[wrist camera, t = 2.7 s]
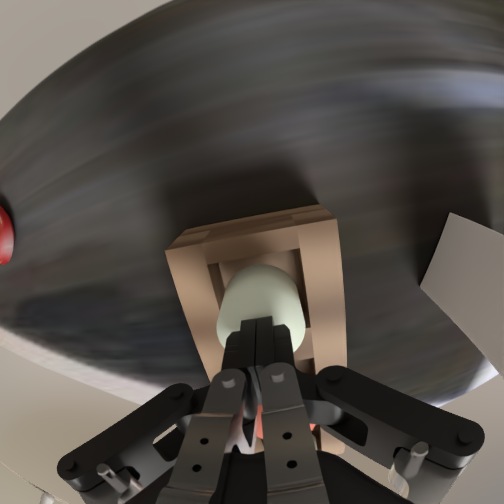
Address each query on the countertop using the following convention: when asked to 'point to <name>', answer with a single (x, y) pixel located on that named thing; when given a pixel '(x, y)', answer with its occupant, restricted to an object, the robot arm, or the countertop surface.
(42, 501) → the salt shaker
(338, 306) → the wooden ball rack
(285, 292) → the pale green sphere
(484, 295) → the milk carton
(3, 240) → the liquor
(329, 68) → the countertop surface
